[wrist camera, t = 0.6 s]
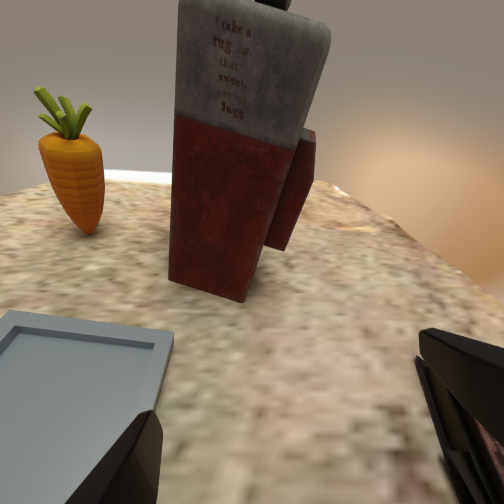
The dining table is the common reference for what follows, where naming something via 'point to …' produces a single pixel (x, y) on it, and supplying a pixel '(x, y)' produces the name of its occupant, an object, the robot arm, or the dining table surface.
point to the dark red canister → (240, 137)
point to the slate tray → (69, 398)
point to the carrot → (72, 162)
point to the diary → (464, 443)
